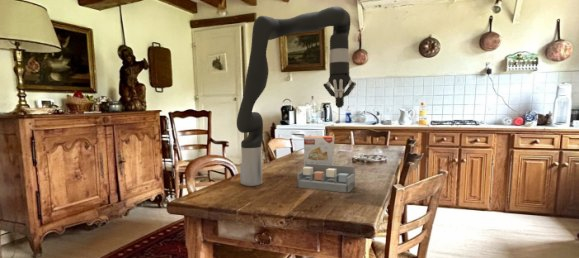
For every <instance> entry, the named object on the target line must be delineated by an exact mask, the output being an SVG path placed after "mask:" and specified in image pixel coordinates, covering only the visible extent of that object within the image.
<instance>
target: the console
mask: <svg viewBox="0 0 579 258" xmlns="http://www.w3.org/2000/svg"><path fill="white" fill-rule="evenodd" d="M305 167H313V173H312V174H310V175H303V170H302V171H301V172H297V173H296V176H297V177H296V178H297V179H296V180H297V182H296V183H297V188H300V189H311V190H320V191H328V192H336V193H337V192H338V193H346V194H347V193H350V192H351V191H352V190H353V189H354V188H356V174H355V173H356V167H355V166H354V165H353V166H351V165H339V164H338V165H337V164H334V165H326V164H311V163H305ZM329 168H332V169H337V175H336V176H334V177H326V170H327V169H329ZM317 171H320V172H325V174H324V175H322V180H314V173H315V172H317ZM340 173H346V174H349V176H348V177H347V178H346V182H339V180H338V175H339V174H340Z"/></svg>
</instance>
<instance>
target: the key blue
mask: <svg viewBox="0 0 579 258" xmlns="http://www.w3.org/2000/svg"><path fill="white" fill-rule="evenodd" d="M348 176H349V174H346V173H340V174H339V175H338V180H339V182H346V178H347V177H348Z"/></svg>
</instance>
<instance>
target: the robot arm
mask: <svg viewBox="0 0 579 258" xmlns="http://www.w3.org/2000/svg"><path fill="white" fill-rule="evenodd" d="M329 27H332V28H333V29H332V30H333V31H332V35H330V38H329V60H328V61H329V68H328V69H329V77H328V81H327V82H326V83H323V87H324V89H325V90H326V91H327V92H328V94H329V96H331V97H333V98H335V106H336V108H339V109H340V108H341V109H342V108H343V106H344V105H345V104H344V103H345V99H344V98H345V97H348V96H349V95H350V93H352V91H353V90H354V88H355V87H356V86H357V83H356V82H355V81H353V80H351V79H352V78H351V76H350V51H349V48H350V47H349V36H350V30H351V16H350V13H349V12H348V11H347V10H345V9H344V8H343V7H342V6H337V5H336V6H335V5H334V6H329V7H327V8H324V9H321V10H318V11H313V12H312V11H311V12H305V13H302V14H299V15H296V16H294V17H290V18H274V17H272V16H271V17H270V16H267V15H259V16H258V17H257V18H256V19H255V21H254V22H253V25H252V34H251V48H250V55H249V61H248V66H247V69H246V71H247V72H246V76H245V82H244V88H243V94H242V99H241V102H240V106H239V110H238V113H237V116H236V128H237V130H238V131H239V132H240V133H242V134H247V133H248V135H247V136H246V138H245V139H243V140H241V142H240V147H241V150H240V151H241V162H240V164H239V168H240V169H239V170H240V171H239V175H240V185H243V186H248V187H249V186H250V187H252V186H253V187H254V186H260V185H262V184H263V163H262V162H263V161H262V160H263V159H262V157H263V156H262V154H263V153H262V142H263V140H264V139H263V138H264V137H263V136H264V132H263V131H264V121H263V117H262V115H261V113H259V112H257V111H253V109H254V106H255V104H256V102H257V100H258V99H259V97H261V95H262V94H263V92H264V91H265V89H266V86H267V82H268V78H269V64H268V60H267V59H268V58H267V51H268V50H267V49H268V44H269V41H272V40H275V39H279V38H281V37H284V36H288V35H292V34H299V33H300V34H301V33H307V32H309V33H310V32H317V31H321V30H324V28H329ZM331 86H332V87H331ZM332 88H333V89H332Z"/></svg>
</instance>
